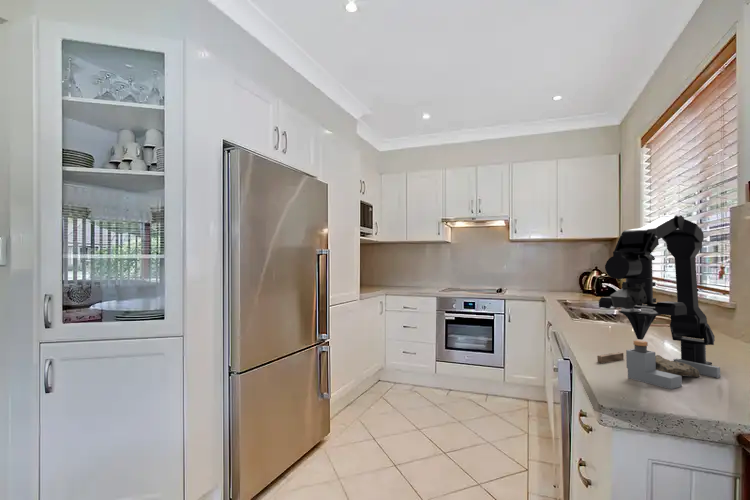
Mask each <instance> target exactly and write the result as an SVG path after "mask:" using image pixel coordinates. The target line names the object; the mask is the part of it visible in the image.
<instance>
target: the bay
mask: <svg viewBox="0 0 750 500" xmlns="http://www.w3.org/2000/svg"><path fill="white" fill-rule="evenodd" d="M625 353H626V355H625V356H626V357H625V359H626V363H625V364H626V368H627V378H628V379H632V380H635V381H639V382H643V383H646V384H650V385H653V386H657V387H661V388H666V389H669V390H673V389H677V388H682V387H683V376H680V375H675V374H671V373H667V372H662V371H658V370H656V357H655V355H656V351H652V350H648V349H647V353H640V352H635V349H634V348H631V349H626V352H625ZM673 361H677V362H681V363H684V364H688V365H691V366H692V367H694V368H695V369H697V370H698V371H699V374H700V375H703V376H708V377H711V378H717V379H718V378H721V367H720V366H717V365H716V366H715V365H712V364H710V365H706V364H701V363H696V362H691V361H686V360H681V358H674V359H673Z"/></svg>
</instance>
